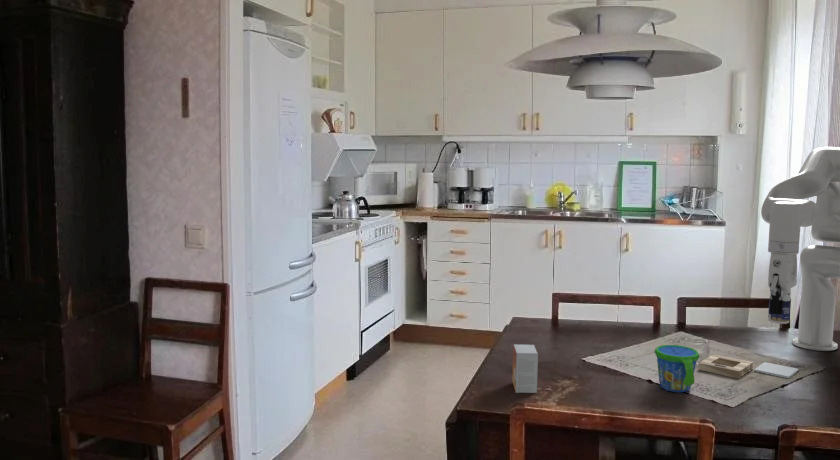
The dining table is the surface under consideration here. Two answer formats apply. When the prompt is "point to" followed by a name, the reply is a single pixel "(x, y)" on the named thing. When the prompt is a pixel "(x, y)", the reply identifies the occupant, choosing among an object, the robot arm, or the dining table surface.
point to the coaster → (776, 370)
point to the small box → (525, 368)
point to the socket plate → (725, 366)
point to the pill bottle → (786, 310)
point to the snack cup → (676, 367)
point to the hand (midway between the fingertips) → (779, 311)
